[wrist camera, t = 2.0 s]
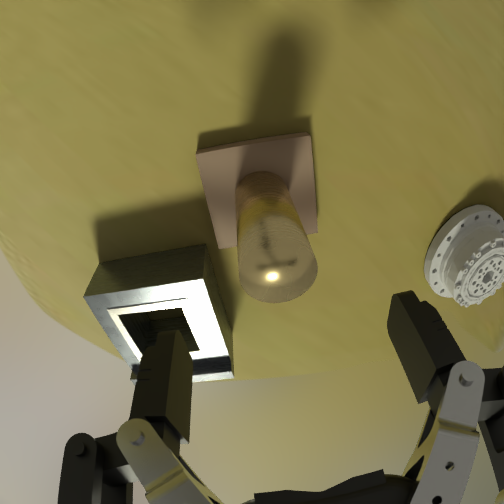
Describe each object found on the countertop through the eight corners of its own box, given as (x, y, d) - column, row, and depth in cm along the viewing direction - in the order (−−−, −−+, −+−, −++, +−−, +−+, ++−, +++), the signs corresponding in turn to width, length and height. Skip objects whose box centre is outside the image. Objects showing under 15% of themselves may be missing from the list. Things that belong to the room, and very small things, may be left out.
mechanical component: (510, 230, 25) (469, 183, 22) (534, 254, 21) (501, 208, 18) (454, 298, 30) (403, 269, 26) (473, 326, 26) (424, 302, 23)
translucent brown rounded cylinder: (230, 175, 19) (232, 248, 13) (284, 166, 19) (316, 234, 13) (239, 222, 21) (246, 308, 15) (290, 214, 21) (318, 295, 15)
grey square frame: (99, 263, 24) (78, 306, 19) (205, 244, 23) (202, 289, 19) (143, 343, 29) (135, 385, 25) (232, 333, 29) (234, 377, 25)
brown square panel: (196, 149, 19) (195, 154, 18) (306, 131, 19) (310, 135, 18) (219, 241, 23) (219, 249, 22) (314, 225, 23) (317, 232, 22)
